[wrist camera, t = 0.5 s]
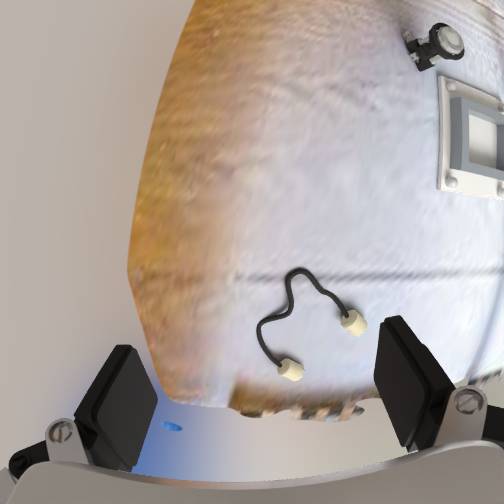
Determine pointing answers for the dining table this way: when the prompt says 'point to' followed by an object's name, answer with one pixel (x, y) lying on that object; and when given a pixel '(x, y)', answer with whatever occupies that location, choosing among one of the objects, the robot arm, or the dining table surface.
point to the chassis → (470, 141)
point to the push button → (435, 46)
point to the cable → (288, 367)
